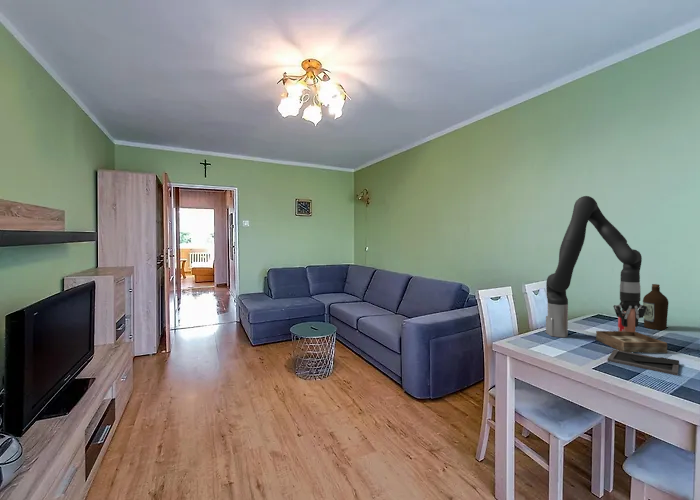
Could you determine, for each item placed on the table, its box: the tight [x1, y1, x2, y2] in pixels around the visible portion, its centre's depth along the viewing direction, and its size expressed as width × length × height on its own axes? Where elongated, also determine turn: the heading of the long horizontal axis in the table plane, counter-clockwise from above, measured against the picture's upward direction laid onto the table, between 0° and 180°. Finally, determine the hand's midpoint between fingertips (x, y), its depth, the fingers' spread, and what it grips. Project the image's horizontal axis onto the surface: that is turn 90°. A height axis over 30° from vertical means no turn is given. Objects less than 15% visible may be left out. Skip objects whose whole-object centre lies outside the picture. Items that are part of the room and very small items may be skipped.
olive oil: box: [642, 283, 670, 331], centre depth 184 cm, size 11×11×25 cm
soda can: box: [617, 317, 625, 331], centre depth 171 cm, size 7×7×12 cm
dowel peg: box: [624, 309, 636, 332], centre depth 155 cm, size 4×4×11 cm
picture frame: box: [606, 348, 680, 377], centre depth 135 cm, size 16×2×21 cm
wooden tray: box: [595, 330, 668, 354], centre depth 155 cm, size 18×18×4 cm
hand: (629, 326), depth 155 cm, fingers closed on dowel peg, 4 cm apart
